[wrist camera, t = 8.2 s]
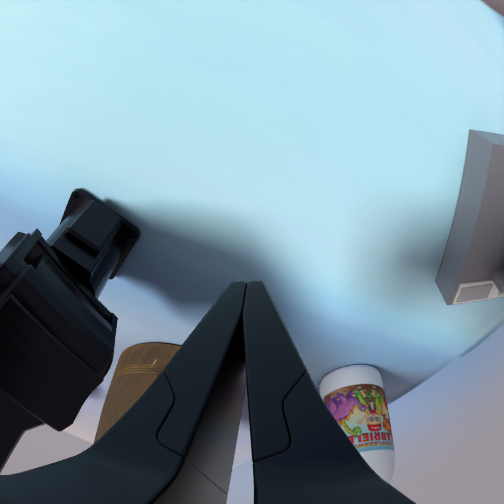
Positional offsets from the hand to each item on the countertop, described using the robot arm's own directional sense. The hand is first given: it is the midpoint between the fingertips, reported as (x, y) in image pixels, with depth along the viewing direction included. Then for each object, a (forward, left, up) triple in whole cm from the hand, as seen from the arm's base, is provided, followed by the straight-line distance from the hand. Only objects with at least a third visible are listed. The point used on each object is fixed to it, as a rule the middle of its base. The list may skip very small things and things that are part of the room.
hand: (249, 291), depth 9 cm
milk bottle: (-14, -26, -13) cm, 32 cm away
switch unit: (+10, -18, -13) cm, 24 cm away
